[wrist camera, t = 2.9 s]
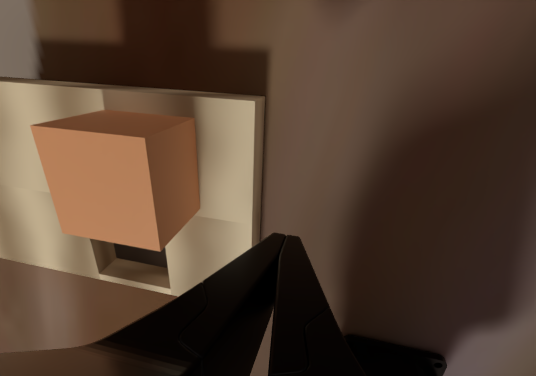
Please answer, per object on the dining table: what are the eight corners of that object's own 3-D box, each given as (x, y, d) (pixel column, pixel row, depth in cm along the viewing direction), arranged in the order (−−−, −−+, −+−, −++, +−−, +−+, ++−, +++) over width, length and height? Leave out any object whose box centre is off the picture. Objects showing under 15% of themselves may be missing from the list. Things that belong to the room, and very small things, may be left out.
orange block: (194, 118, 14) (144, 138, 10) (200, 208, 16) (160, 251, 12) (104, 109, 15) (29, 125, 11) (120, 196, 17) (62, 233, 13)
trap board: (265, 96, 15) (245, 105, 12) (257, 289, 20) (243, 331, 17) (-181, 63, 21) (-273, 64, 18) (-94, 219, 26) (-152, 240, 23)
